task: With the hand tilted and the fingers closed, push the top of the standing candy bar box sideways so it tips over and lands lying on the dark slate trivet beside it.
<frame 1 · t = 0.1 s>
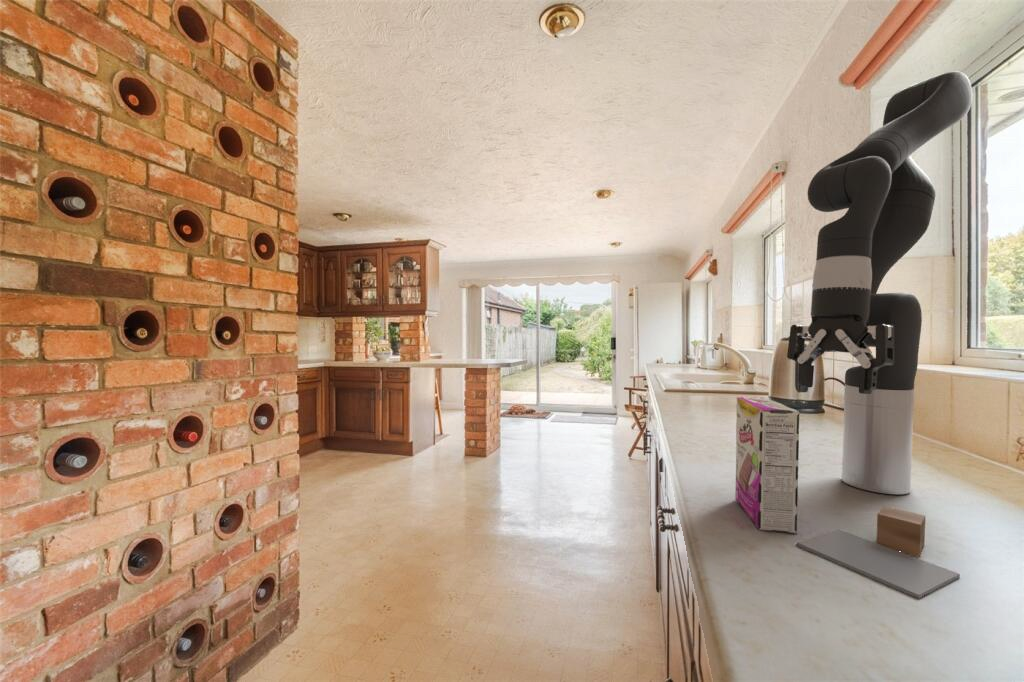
hand: (834, 390, 70), 17 cm above the worktop, tool pointing down, fingers open, 8 cm apart
walnut block: (900, 546, 55), on the worktop
slate trivet: (872, 560, 52), on the worktop
candy bar box: (762, 517, 64), on the worktop
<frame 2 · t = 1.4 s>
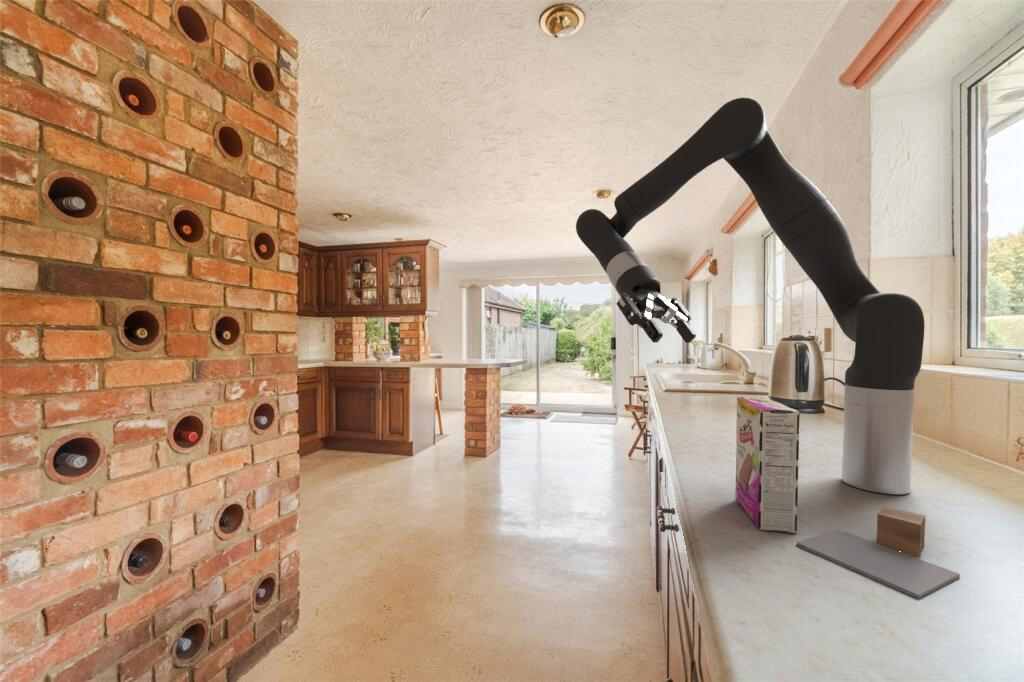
hand: (675, 339, 78), 25 cm above the worktop, tool tilted 45°, fingers open, 7 cm apart
nothing on the worktop moved.
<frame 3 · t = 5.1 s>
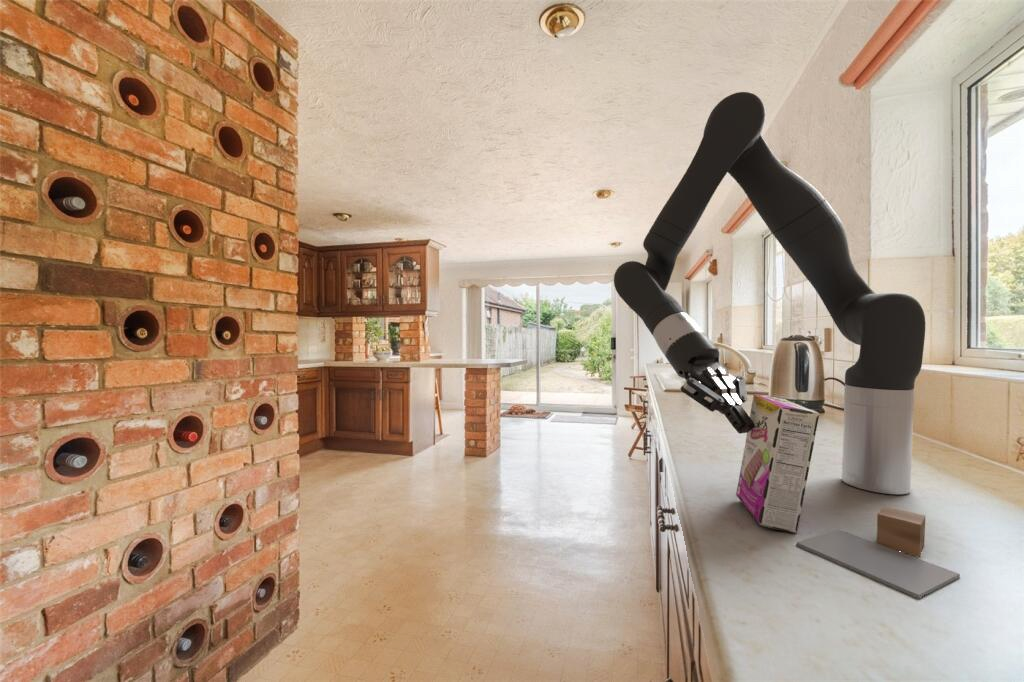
hand: (747, 430, 66), 12 cm above the worktop, tool tilted 45°, fingers closed
candy bar box: (762, 514, 64), on the worktop, touching gripper
everything else where it was.
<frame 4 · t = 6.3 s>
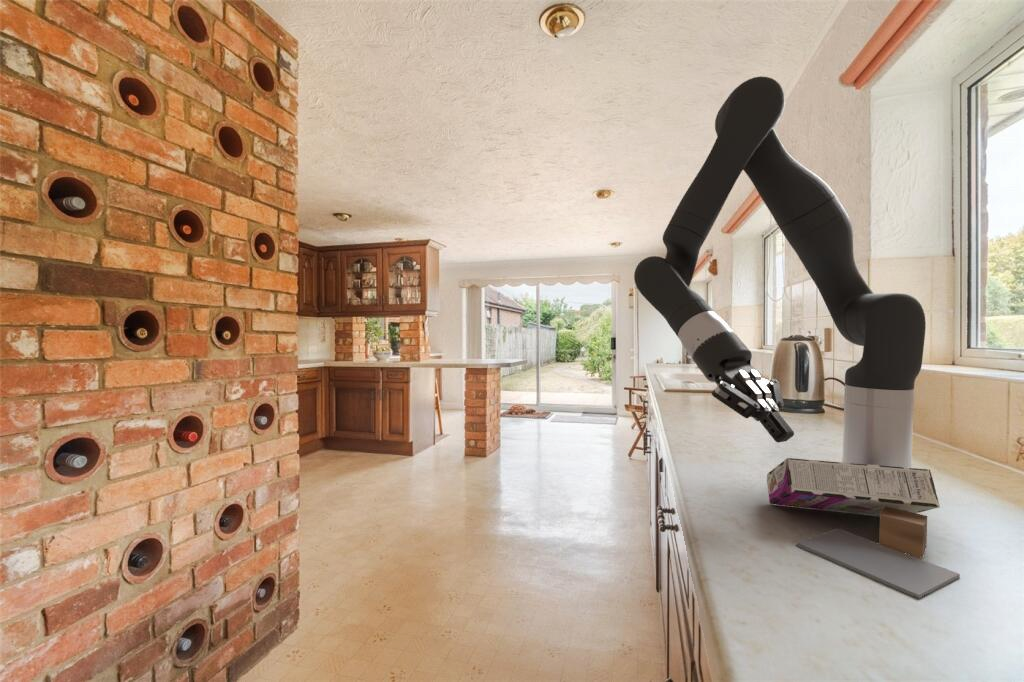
hand: (786, 438, 61), 12 cm above the worktop, tool tilted 45°, fingers closed
walnut block: (902, 547, 55), on the worktop, touching candy bar box
candy bar box: (775, 481, 64), point 5 cm above the worktop, touching walnut block
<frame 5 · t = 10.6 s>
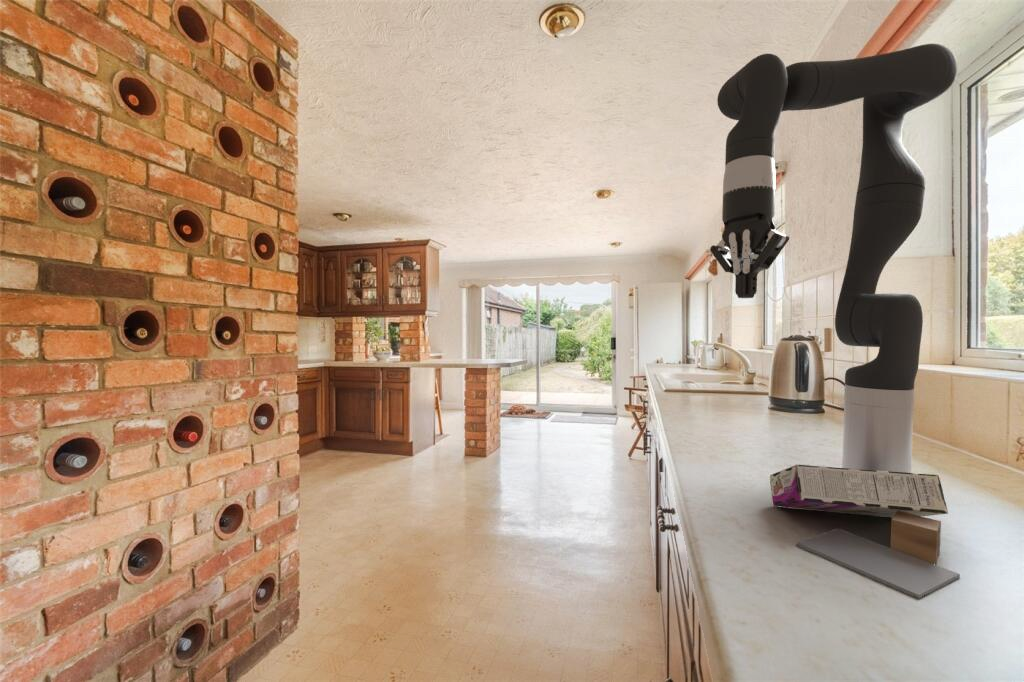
hand: (745, 297, 73), 32 cm above the worktop, tool pointing down, fingers closed
walnut block: (914, 553, 54), on the worktop
candy bar box: (781, 485, 63), point 5 cm above the worktop
at the end: candy bar box tilted 91°; candy bar box inside the target area (12.4 cm from its centre), point 4.5 cm above the worktop; the gripper is holding nothing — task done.
